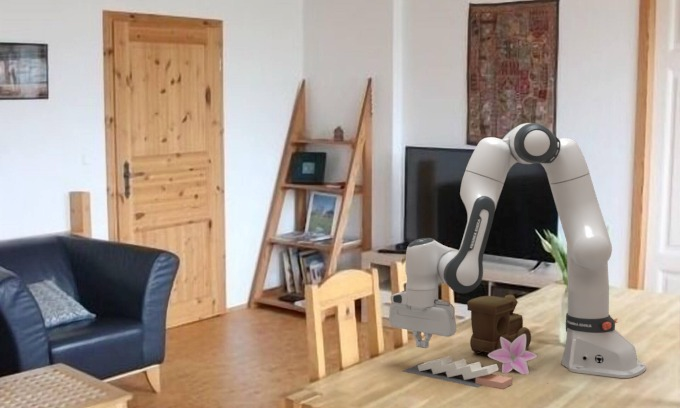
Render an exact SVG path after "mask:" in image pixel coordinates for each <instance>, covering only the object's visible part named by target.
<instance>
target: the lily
mask: <svg viewBox="0 0 680 408" xmlns="http://www.w3.org/2000/svg"><path fill="white" fill-rule="evenodd" d="M500 342H501V347H502V349H498V350H495V351H493V352H491V353H489V352H488V354H487V356H488V358H490V359H493V360H495V361H497V362H500V363H502V365H501V366H502V367H501V374H502V373H503V374H509V373H510V372H511V371H512V370H515V371H516V372H518V373H519V374H521V375H529V374H530V372H529V366H528V363H527V362H528V361H530V360H533V359H535V358H537V357H538V356H537V354H536V353H533V352H531V351H529V350H527V349H526V334H522V335H521V336H519V337H518V338H516V339H515V340H514V341H513V342H512V343H511V342H509V341H508V340H507V339H505V338H503V337H500ZM525 349H526V350H525Z"/></svg>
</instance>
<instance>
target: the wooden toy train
mask: <svg viewBox="0 0 680 408" xmlns="http://www.w3.org/2000/svg"><path fill="white" fill-rule="evenodd" d="M466 302H467V303H466V304H467V306H466V307H467V311H468V312H470V320H471V330H472V331H471V332H472V334H471V337H470V339H469V340H470V341H469V344H470V345H469V347H470V349H471V351H472V352H473V353H475V354H480V353H481V352H484V353H485V352H486V353H488V354H489V353H491V352H493V351H495V350H498V349H502V347H501V342H500V337H503V338H505V339H507V340H508V341H509V342H511V343H512V342H513V341H514V340H515V339H516V338H518V337H519V336H521V335H522V334H526V349H525V350H526V351H527V349H529V347H530V344H531V341H532V334H531V331H530V329H529V328H528V327H526V326H524V325H523V324H524V319H523V318H524V317H523V315H522V314H519V313H515V309H516V307H517V304H518V299H516V297H515V295H513V294H507V295H505V296H504V297H501V296H496V295H495V296H494V295H484V296H478V297H475V298H472V299H469V300H468V301H466ZM523 326H524V327H523Z"/></svg>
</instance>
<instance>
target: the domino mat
mask: <svg viewBox="0 0 680 408" xmlns="http://www.w3.org/2000/svg"><path fill="white" fill-rule="evenodd" d="M423 363H424V362H420V363H417V364H416V365H413V366H411V367H408V368H406V369H403V370H402V372H404V373H408V374H413V375H417V376H422V377H426V378H427V377H428V378H432V379H436V380H441V381H444V382H445V381H446V382H451V383H455V384H459V385H464V386H469V387H475V388H479V387H482V386H483V385H481V384H476V377H475V378H471V379H466V380H464V378H463V375H462V374H461V375H456V376H452V377H447V374H446V372H441V373H437V374H433V372H432V369H428V370H423V371H419V369H418V365H421V364H423Z"/></svg>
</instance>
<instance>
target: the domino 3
mask: <svg viewBox="0 0 680 408" xmlns="http://www.w3.org/2000/svg"><path fill="white" fill-rule="evenodd" d="M466 364H467V363H466ZM481 367H482V363H481V362H480V361H477V362H472V363H469V364H467V365H465V366H463V367H460V368H458V369H455V370H450V371H446V374H447V377H452V376H456V375H461V374H465V373H469V372H473V371H475V370H477V369H479V368H481Z"/></svg>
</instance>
